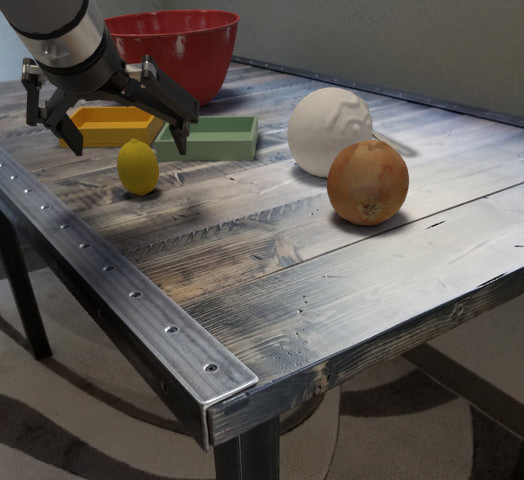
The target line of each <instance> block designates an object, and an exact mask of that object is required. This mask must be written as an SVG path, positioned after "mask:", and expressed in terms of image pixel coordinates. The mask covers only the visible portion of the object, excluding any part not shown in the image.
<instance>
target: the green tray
mask: <svg viewBox="0 0 524 480" xmlns="http://www.w3.org/2000/svg"><path fill="white" fill-rule="evenodd" d="M258 138H259V116H258V115H215V116H214V115H213V116H212V115H211V116H208V115H207V116H205V115H204V116H202V115H201V116H199V122H198V123H197V124H190V135H189V137H187V145H186V155H180V153H179V151H178V149H177V146H176V144H175V142H174V139H173V137H172V135H171V132H170V130H169V123H167V122H165V123H164V125H163V126H162V128H161V129H160V131H159V134H157V137H155V139H154V146H155V156H156V158H157V161H158V162H182V161H183V162H191V161H192V162H195V161H196V162H197V161H202V162H203V161H206V162H207V161H210V162H211V161H212V162H213V161H254V160H255V159H254V158H255V154H256V148H257V145H258V144H257V143H258Z"/></svg>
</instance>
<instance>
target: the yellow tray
mask: <svg viewBox="0 0 524 480" xmlns="http://www.w3.org/2000/svg"><path fill="white" fill-rule="evenodd" d="M69 117H70V119H71V120H72V121H73V123H74V124H75V126H76V127H77V128H78V130H79V131H80V132H81V134H82V135H83V136H84V137H83V148H122V147H123V146H124V145H125V144H126V143H128V142H130V140H131V139H137V140H138V141H140V142H143V143H145V144H147V145H148V146H149V147H151V146H150V145H151V144H152V143H153V141H154V140H155V139H156V136H158V133H160V131H161V130H162V128H163V126H164V125H165V121H163V120H161V119H159V118H157V117H155V116H153V115H151V114H149V113H147V112H145V111H143V110H141V109H139V108H137V107H134V106H129V107H125V106H80V107H78V109H77V110H75V111H74V112H73V113H72V114H71V115H70V116H69ZM57 139H58V143H59V147H60V148H70V147H69V146H68V145H67V144H66V142H65V141H64V140H63V139H59V138H57Z"/></svg>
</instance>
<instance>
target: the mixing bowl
mask: <svg viewBox="0 0 524 480" xmlns="http://www.w3.org/2000/svg"><path fill="white" fill-rule="evenodd" d="M103 19H104V21H105V23H106V25H107V27H108V29H109V32H110V34H111V36H112V38H113V40H114V42H115V44H116V47H117V50H118V53H119V56H120V57H121V58H122V59H123V60H125V61H126V62H127V63H128V64H136V63H142V56H143V55H150V56H152V57H153V58H154V60H155V61H156V63H157V65H158V67H159V68H160V69H161V70H162V71H163V72H165V73H166V74H167V75H168V76H169V77H171V78H172V79H173V80H174V81H175V82H177V83H178V84H179V85H180V86H181V87H183V88H184V89H185V90H186V91H187V92H189V93H190V94H191V95H192V96H193V97H195V98H196V99H197V100H198V101H199V108H202V107H204V106H206V105H207V104H209V103H210V102H211V101H212V100H213V99H215V98H216V96H218V94H219V93H220V91H221V89H222V87H223V84H224V82H225V80H226V77H227V74H228V71H229V68H230V65H231V61H232V58H233V53H234V49H235V45H236V39H237V32H238V26H239V23H240V20H241V16H240V15H239V14H237V13H236V12H232V11H227V10H221V9H206V8H205V9H204V8H203V9H201V8H199V9H197V8H196V9H195V8H193V9H191V8H190V9H169V10H167V9H166V10H155V11H146V12H138V13H128V14H123V15H117V16H111V17H107V18H103ZM122 93H123V94H124V93H125V88H124V90H123V91H122Z"/></svg>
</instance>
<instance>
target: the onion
mask: <svg viewBox="0 0 524 480" xmlns="http://www.w3.org/2000/svg"><path fill="white" fill-rule="evenodd" d="M409 173H410V172H409V169H408V165H407V163H406V161H405V159H404V158H403V157H402V155H401V154H400V153H399V152H398V151H397V149H394V148H392V147H391V146H390V145H389V144H387V143H386V142H384V141H380V140H379V139H372V140H366V141H361V142H358V143H355V144H352V145H350V146H348V147H346V148H345V149H343V150H342V151H341V152H340V153H339V154H338V155H337V156H336V158H335V159H334V161H333V163H332V165H331V167H330V170H329V174H328V178H326V192H327V195H328V200H329V203H330V205H331V207H332V208H333V210H334V211H335V212H336V213H337V215H338V216H339V217H341V218H342V219H344V220H345V221H347V222H349V223H351V224H352V225H359V226H367V227H370V226H377V225H380V224H382V223H384V222H386V221H387V220H389V219H391V218H392V217H393V216H395V215H396V214H397V213H398V212H399V211H400V209H402V207H403V205H404V203H405V202H406V199H407V196H408V192H409V188H410V174H409Z"/></svg>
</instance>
